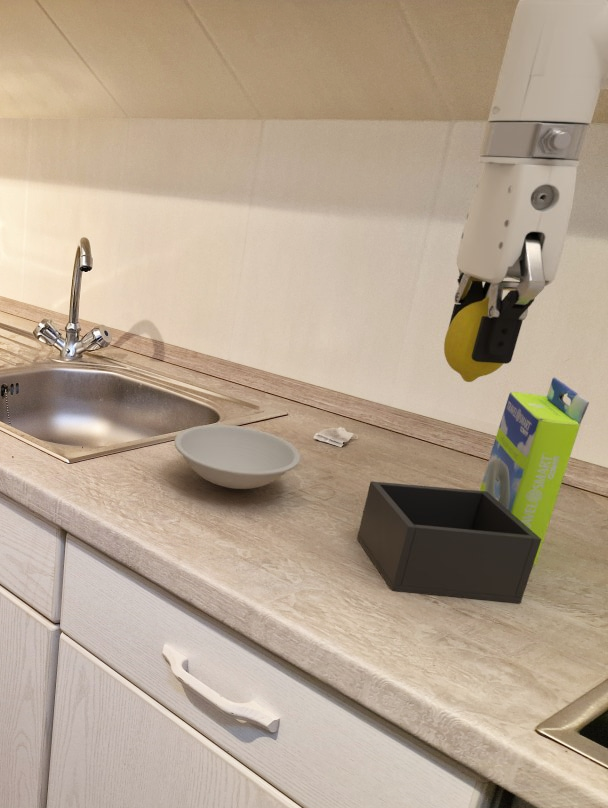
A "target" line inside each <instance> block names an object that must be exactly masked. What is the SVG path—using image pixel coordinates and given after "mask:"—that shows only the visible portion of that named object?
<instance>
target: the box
mask: <svg viewBox="0 0 608 808" xmlns="http://www.w3.org/2000/svg"><path fill="white" fill-rule="evenodd" d="M565 395H566V397H567V398H568V399H569V400H570V403H569V405H568V403H567V402H565V401H564V397H565ZM589 404H590V401H588V399H586V398H584V397H583V396H582V395H580V394H579V393H578V392H576V391H575V390H573V389H572V388H570V386H568V385H567V384H565V383H564V382H562V381H560V380H559V379H557V377H552V379H551V383H550V385H549V389H548V392H547V395H541V394H532V393H526V392H518V391H511V392H509V393H508V397H507V400H506V404H505V407H504V410H503V414H502V416H501V419H500V420H501V421H500V423H499V426H498V429H497V432H496V436H495V438H494V442H493V446H492V449H491V451H490V455H489V459H488V461H487V466H486V469H485V472H484V475H483V479H482V481H481V484H480V488H479V491H487V492H488V493H489V494H490V495H492V496H493V497H494V498H495V499H496V500H497V501H498V502H500V503H501V504H502V505H503V506H504V507H505V508H506V509H508V510H509V511H510V512H511V513H512V514H513V515H514V516H516V517H517V518H518V519H519V520H520V521H521V522H522V523H524V524H525V525H526V526H527V527H528V528H529V529H530V530H532V531H533V532H534V533H535V534H536V535H537V536H538V537H540V538H541V542H540V545H539V548H538V551H537V555H536V558H535V561H534V564H533V566H536V565H537V564H538V559H539V556H540V552H541V549H542V546H543V543H544V540H545V537H546V534H547V531H548V528H549V525H550V522H551V518H552V515H553V512H554V509H555V507H556V503H557V499H558V496H559V493H560V490H561V486H562V484H563V481H564V477H565V474H566V471H567V468H568V465H569V461H570V458H571V455H572V452H573V448H574V445H575V444H576V443H575V442H576V440H577V436H578V433H579V430H580V427H581V424H582V421H583V419H584V417H585V414H586V411H587V409H588V407H589Z"/></svg>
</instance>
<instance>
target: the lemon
mask: <svg viewBox="0 0 608 808" xmlns="http://www.w3.org/2000/svg"><path fill="white" fill-rule="evenodd" d="M489 298H490V297H488V298H485V299H484V300H482V301H479V302H475V303H472V304H470V305H468V306H466V307H465V308H463V309H462V310H461V311H460V312H458V313H457V315H456V316H455V317H454V319H453V320H452V322H451V324H450V323H449V324H450V326H449V325H448V328H447V331H446V334H445V337H444V343H443V346H444V347H443V350H444V351H443V352H444V353H443V354H444V357H445V360H446V362H447V364H448V365H449V367H450V369H452V370H453V371H455V372H456V373H458V374H459V375H460V377H461V378H462V379H463V381H464V382H466V383H472V382H474V381H476V380H477V379H479V378H480V377H485V376H487V375H491V374H492V373H494V372H496V371H497V370H499V369H500V368H501V367H502V366H503V365H504V364H503V363H489V362H477V361H474V360H473V359H472V352H473V349H474V345H475V341H476V337H477V334H478V330H479V326H480V322H481V319H482V316H488V307H489Z"/></svg>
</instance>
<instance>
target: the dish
mask: <svg viewBox="0 0 608 808" xmlns="http://www.w3.org/2000/svg"><path fill="white" fill-rule="evenodd" d="M174 446H175V449H176V450H177V452H178V453H179V454H180V455H181V456H182V457H183V458H184V460H185V461H186V463H187V464H188V466H189V467H190V468H191V469H192V470H193V472H195V473H196V474H197V475H199V477H201V478H203V479H204V480H206V481H208V482H210V483H212V484H215V485H217V486H221V487H224V488H228V489H238V490H247V489H256V488H261V487H263V486H267V485H269V484H271V483H272V482H274V481H276V480H278V479H279V478H281V477H282V476H283V475H285V474H286V473H288V472H290V471H292V470H294V469H295V468H297V467H298V465H299V464H300V462H301V460H302V459H301V453H300V452H299V450H298V448H297V447H296V446H295V445H294V444H292V443H290V442H289V441H287V440H286V439H284V438H282V437H280V436H277V435H275V434H272V433H270V432H267V431H263V430H260V429H256V428H253V427H248V426H247V427H246V426H241V425H232V424H231V425H230V424H205V425H197V426H193V427H188V428H186V429H184V430H182V431H180V432H179V433H178V434H177V435H176V436H175V438H174Z"/></svg>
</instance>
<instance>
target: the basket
mask: <svg viewBox="0 0 608 808" xmlns="http://www.w3.org/2000/svg"><path fill="white" fill-rule="evenodd" d="M367 490H368V491H367V494H366V499H365V503H364V507H363V510H362V516H361V519H360V524H359V528H358V533H357V536H356V539H357V542H359V544H360V545H361V547H362V548H363V550H364V552H365V553H366V554H367V556H368V557H369V559H370V560H371V562H372V563H373V565H374V566H375V568H376V569H377V571H378V572H379V574H380V575H381V576H382V578H383V579H384V581H385V582H386V584H387V585H388V587H389V589H390V590H391V591H394V592H404V593H414V594H422V595H423V594H424V595H433V596H443V597H444V596H445V597H454V598H461V599H462V598H464V599H473V600H483V601H493V602H502V603H512V604H513V603H514V604H521V603H522V600H523V597H524V594H525V592H526V588H527V585H528V582H529V578H530V575H531V573H532V569H533V566H534V565H533V564H534V561H535V558H536V555H537V551H538V548H539V545H540V542H541V538H540V537H538V536H537V535H536V534H535V533H534V532H533V531H532V530H530V529H529V528H528V527H527V526H526V525H525V524H524V523H522V522H521V521H520V520H519V519H518V518H517V517H516V516H514V515H513V514H512V513H511V512H510V511H509V510H508V509H506V508H505V507H504V506H503V505H502V504H501V503H500V502H498V501H497V500H496V499H495V498H494V497H493V496H492V495H490V494H489V493H488V492H487V491H480V490H475V489H474V490H473V489H463V488H452V487H439V486H429V485H419V484H406V483H395V482H384V481H370V482H369V487H368V489H367Z"/></svg>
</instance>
